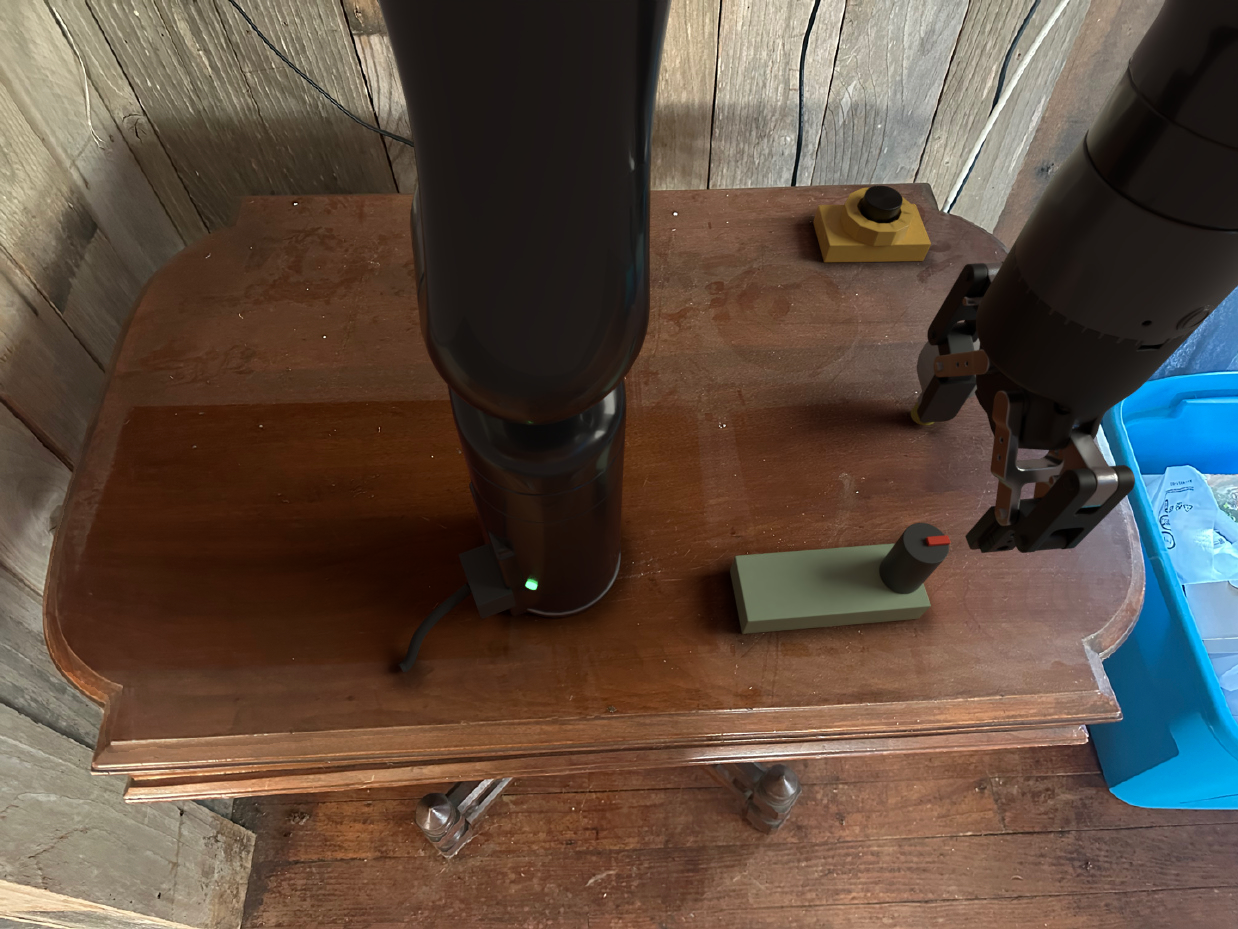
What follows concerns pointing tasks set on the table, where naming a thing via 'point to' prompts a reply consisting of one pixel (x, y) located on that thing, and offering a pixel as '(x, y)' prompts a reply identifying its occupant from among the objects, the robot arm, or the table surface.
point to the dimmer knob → (914, 557)
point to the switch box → (869, 233)
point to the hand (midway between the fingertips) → (957, 477)
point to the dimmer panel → (818, 590)
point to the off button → (881, 204)
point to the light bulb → (930, 374)
